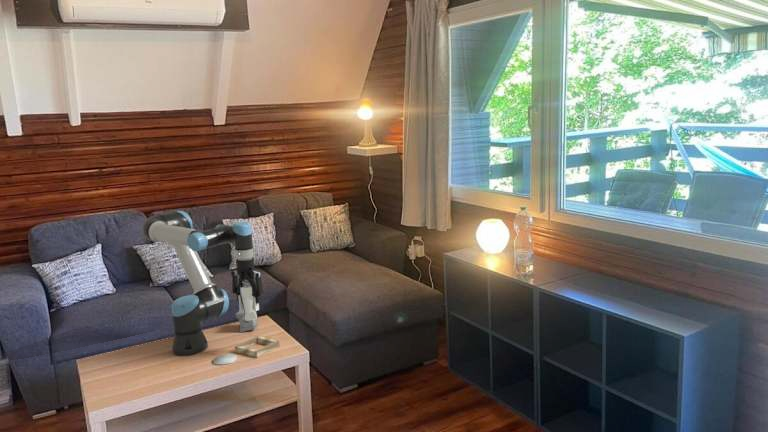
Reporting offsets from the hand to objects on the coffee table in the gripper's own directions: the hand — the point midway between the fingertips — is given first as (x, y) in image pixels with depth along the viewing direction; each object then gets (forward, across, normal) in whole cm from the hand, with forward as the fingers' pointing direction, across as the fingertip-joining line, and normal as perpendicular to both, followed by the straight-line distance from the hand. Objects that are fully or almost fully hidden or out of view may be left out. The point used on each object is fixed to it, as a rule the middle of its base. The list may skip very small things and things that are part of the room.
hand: (249, 309), depth 266 cm
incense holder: (+19, -17, +22) cm, 34 cm away
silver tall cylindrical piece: (+4, 0, 0) cm, 4 cm away
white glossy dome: (+19, -6, -12) cm, 23 cm away
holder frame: (+19, +2, +1) cm, 19 cm away
